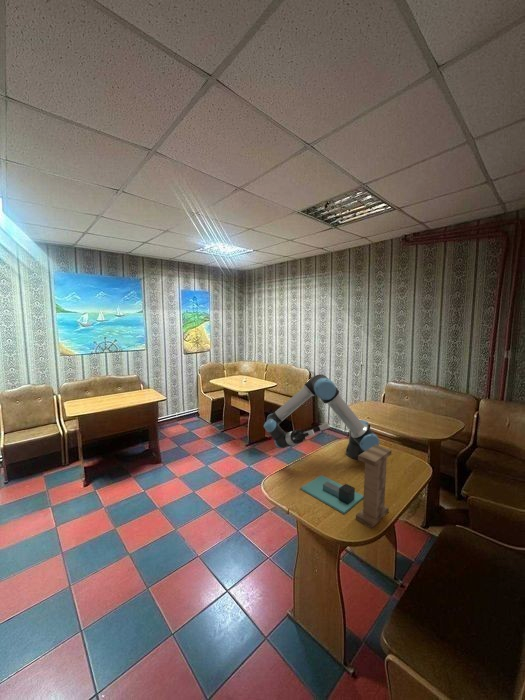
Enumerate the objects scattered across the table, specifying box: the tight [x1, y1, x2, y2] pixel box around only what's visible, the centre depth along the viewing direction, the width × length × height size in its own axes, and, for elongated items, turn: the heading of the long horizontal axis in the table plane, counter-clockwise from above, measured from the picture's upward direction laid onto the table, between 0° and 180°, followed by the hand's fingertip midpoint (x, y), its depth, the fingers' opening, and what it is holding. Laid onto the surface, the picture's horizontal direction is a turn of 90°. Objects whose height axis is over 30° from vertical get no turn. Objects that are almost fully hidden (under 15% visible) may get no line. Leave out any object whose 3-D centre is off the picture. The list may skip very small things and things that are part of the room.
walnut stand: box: [355, 445, 393, 529], centre depth 129 cm, size 16×8×30 cm, turn 132°
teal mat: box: [300, 474, 364, 515], centre depth 147 cm, size 18×26×1 cm
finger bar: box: [323, 482, 356, 505], centre depth 144 cm, size 6×15×6 cm, turn 42°
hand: (321, 428), depth 152 cm, fingers open, 13 cm apart
